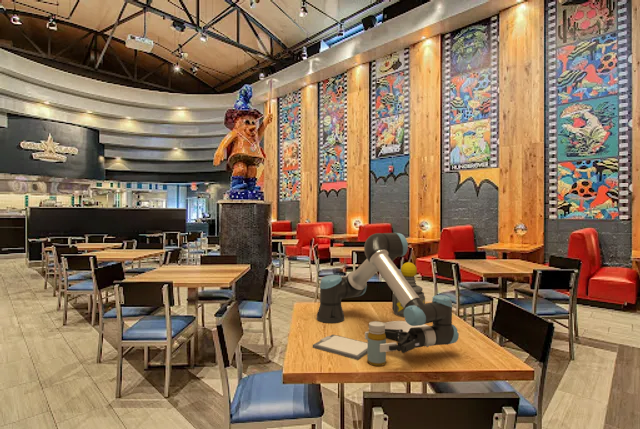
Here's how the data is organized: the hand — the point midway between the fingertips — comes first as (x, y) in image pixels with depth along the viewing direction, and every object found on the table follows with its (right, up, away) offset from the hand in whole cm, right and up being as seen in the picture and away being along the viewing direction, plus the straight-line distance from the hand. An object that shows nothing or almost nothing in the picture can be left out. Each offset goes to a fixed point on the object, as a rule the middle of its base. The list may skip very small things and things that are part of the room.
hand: (372, 341), depth 132 cm
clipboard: (-10, -8, +16) cm, 20 cm away
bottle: (+2, -9, +1) cm, 9 cm away
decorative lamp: (+32, -9, +69) cm, 76 cm away
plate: (+23, -9, +36) cm, 44 cm away
